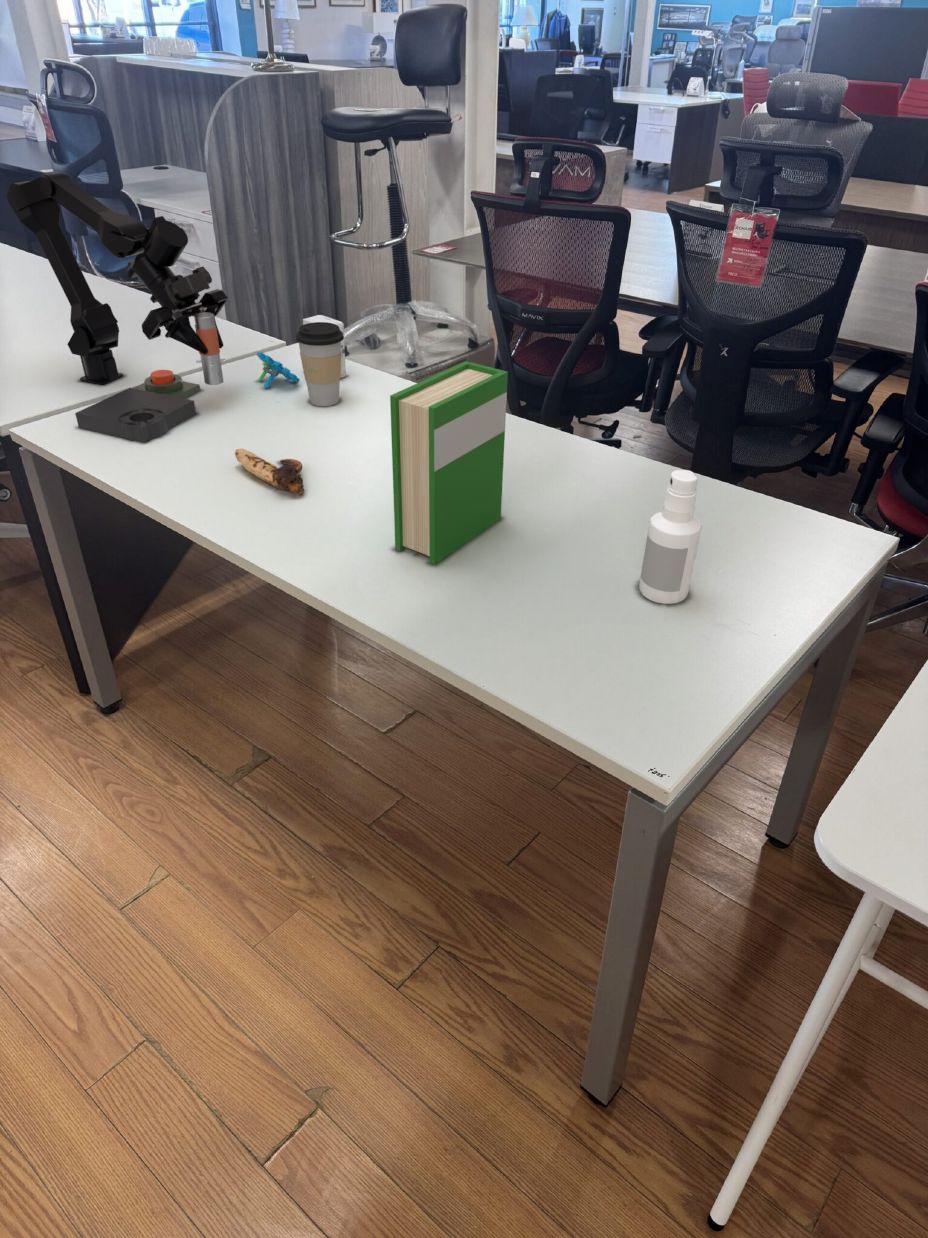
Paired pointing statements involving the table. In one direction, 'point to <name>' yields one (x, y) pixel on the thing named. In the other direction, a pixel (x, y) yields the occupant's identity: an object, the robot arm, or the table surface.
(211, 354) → the silver-capped orange cylinder
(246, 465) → the lashed bone hook
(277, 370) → the blue toy gun
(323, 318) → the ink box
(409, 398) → the hardback book
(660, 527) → the spray bottle
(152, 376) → the release button
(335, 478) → the table surface
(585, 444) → the table surface
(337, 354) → the coffee cup
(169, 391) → the button block
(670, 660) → the table surface
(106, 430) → the grinder base
